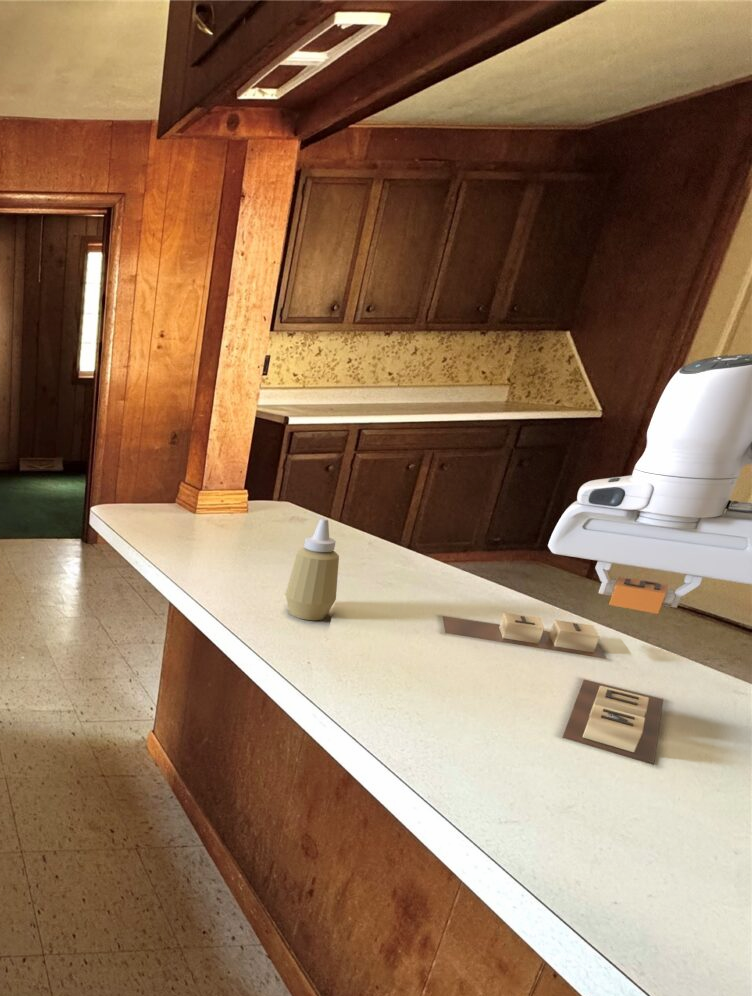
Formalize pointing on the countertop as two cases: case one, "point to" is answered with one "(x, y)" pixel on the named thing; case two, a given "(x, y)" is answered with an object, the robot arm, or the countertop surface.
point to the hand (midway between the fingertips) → (636, 599)
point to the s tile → (639, 594)
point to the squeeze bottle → (314, 576)
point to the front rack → (615, 721)
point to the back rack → (531, 633)
